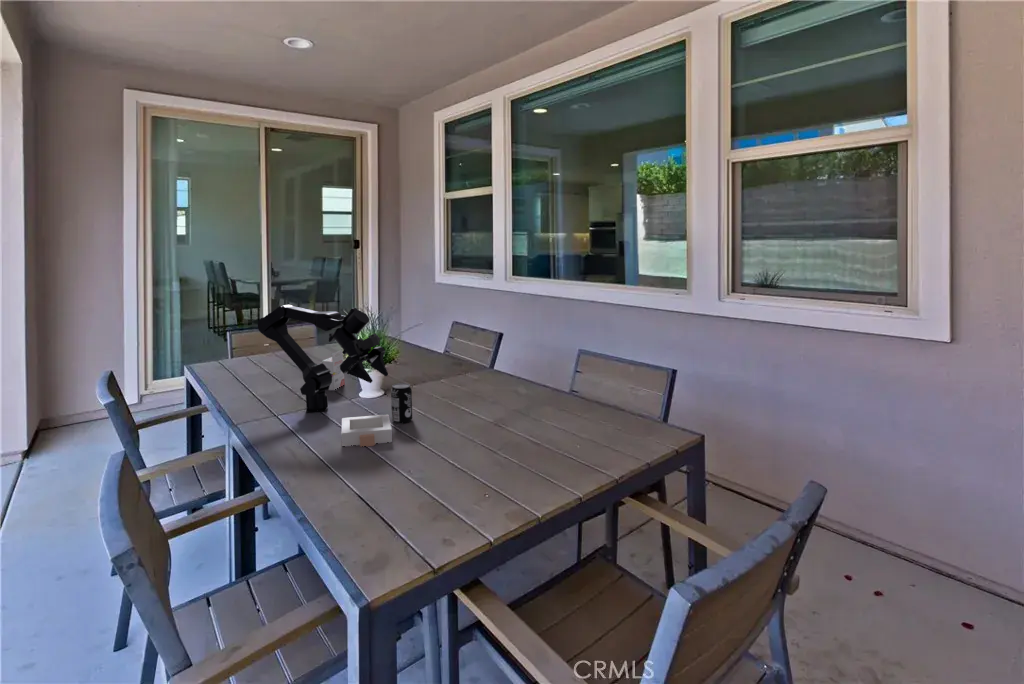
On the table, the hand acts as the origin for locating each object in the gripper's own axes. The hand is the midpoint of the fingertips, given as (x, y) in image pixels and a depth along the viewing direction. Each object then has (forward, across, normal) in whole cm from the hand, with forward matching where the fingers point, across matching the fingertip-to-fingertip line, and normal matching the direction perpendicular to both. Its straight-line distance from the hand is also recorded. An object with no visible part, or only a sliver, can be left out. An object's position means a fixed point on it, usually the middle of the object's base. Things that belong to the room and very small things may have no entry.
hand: (379, 378), depth 180 cm
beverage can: (+15, 0, +4) cm, 16 cm away
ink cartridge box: (-17, +26, +36) cm, 48 cm away
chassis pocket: (+13, -16, +6) cm, 22 cm away
